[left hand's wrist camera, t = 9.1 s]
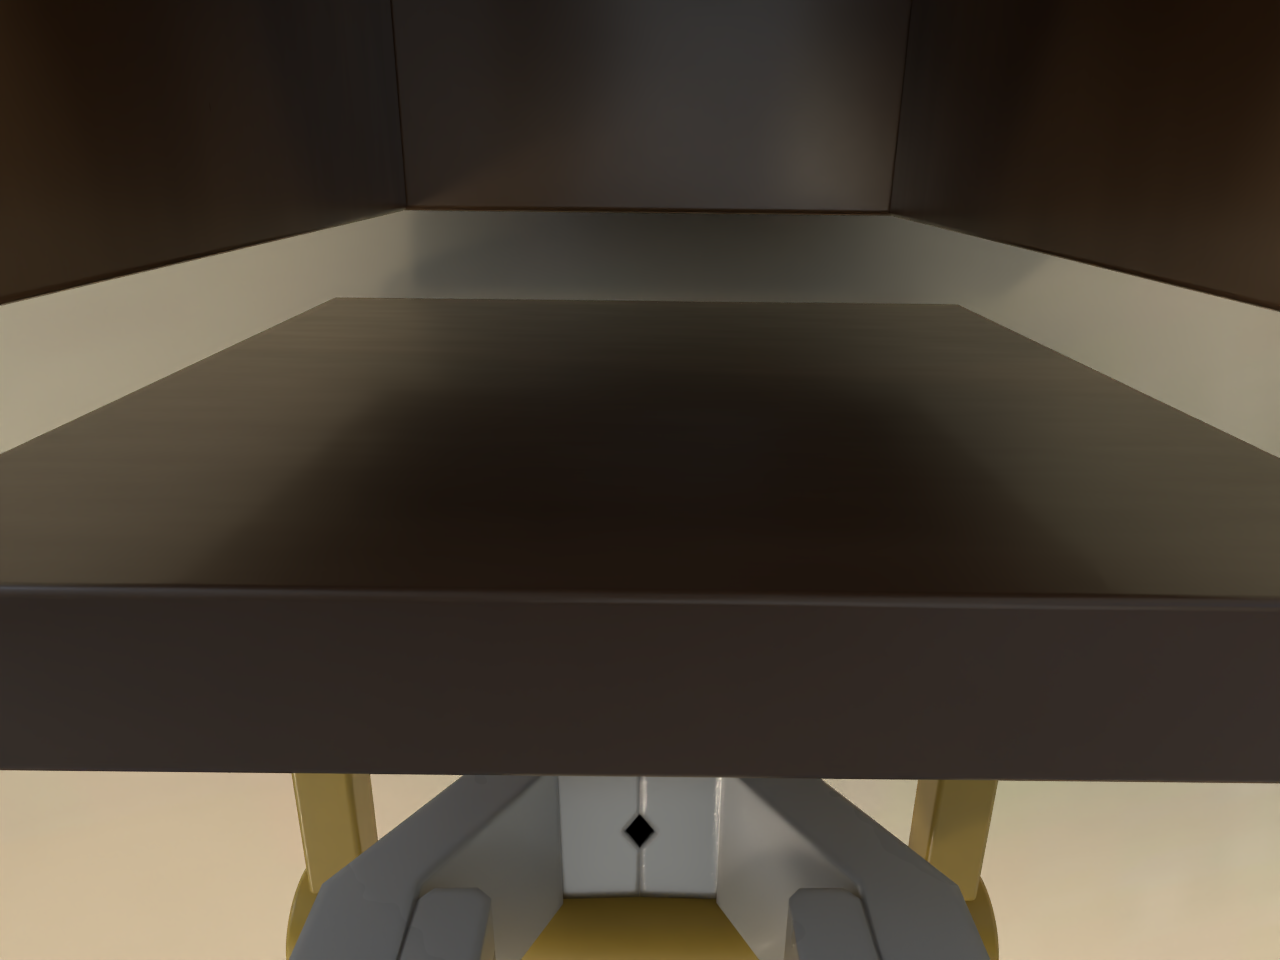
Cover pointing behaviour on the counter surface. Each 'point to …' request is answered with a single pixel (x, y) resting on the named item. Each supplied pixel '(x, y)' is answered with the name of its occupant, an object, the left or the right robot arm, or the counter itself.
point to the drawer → (642, 416)
